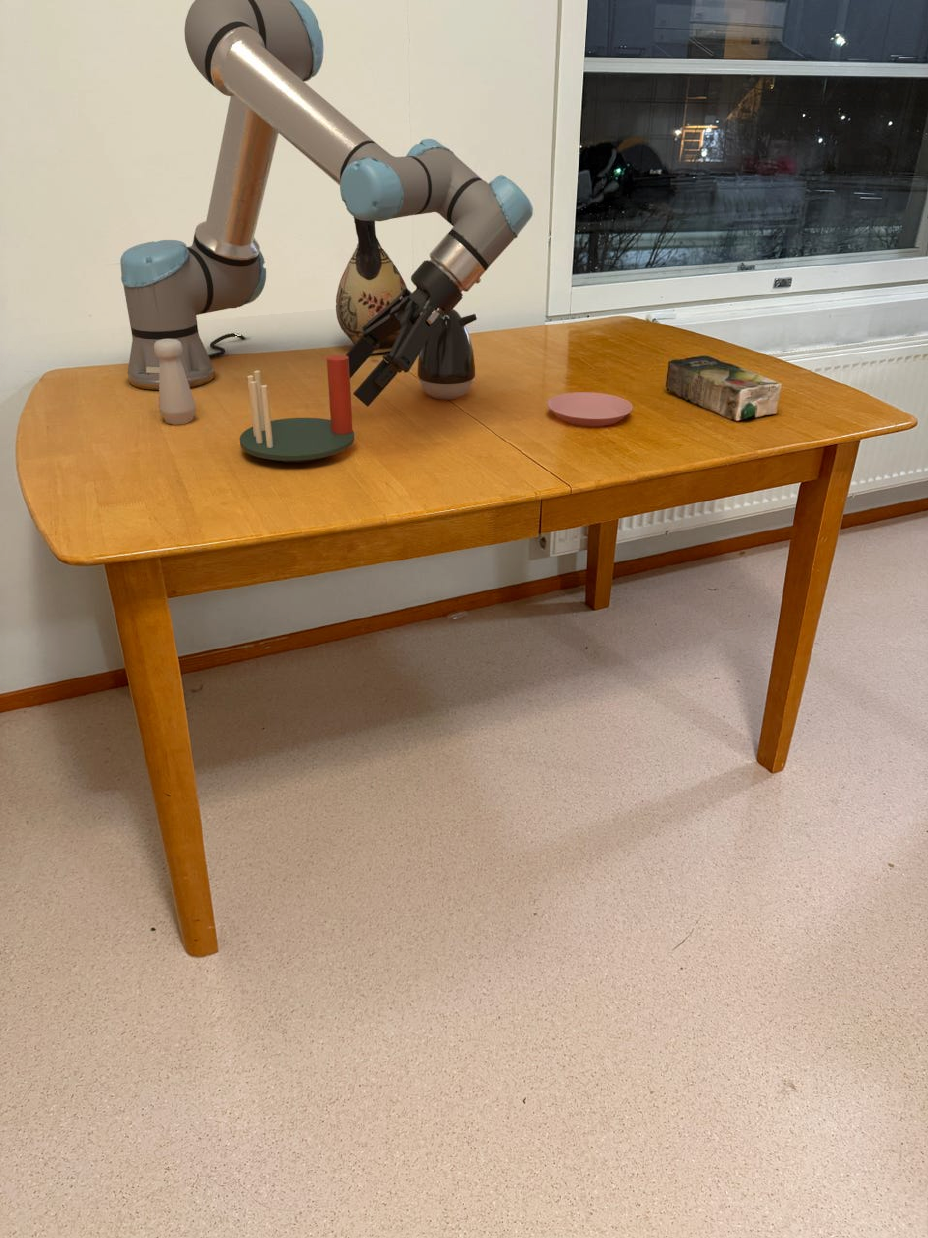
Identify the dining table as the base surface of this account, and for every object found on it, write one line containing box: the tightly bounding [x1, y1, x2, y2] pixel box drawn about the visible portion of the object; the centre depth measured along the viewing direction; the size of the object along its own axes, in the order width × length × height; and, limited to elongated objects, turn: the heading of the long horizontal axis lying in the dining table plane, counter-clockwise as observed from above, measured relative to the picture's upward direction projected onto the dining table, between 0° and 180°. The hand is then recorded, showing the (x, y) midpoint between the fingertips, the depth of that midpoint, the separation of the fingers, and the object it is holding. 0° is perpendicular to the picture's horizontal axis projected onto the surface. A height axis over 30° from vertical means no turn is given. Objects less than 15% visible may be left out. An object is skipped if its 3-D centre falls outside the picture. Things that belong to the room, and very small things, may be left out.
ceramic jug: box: [335, 216, 408, 355], centre depth 183 cm, size 17×15×30 cm
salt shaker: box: [154, 339, 197, 426], centre depth 147 cm, size 6×6×13 cm
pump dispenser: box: [416, 308, 478, 401], centre depth 160 cm, size 10×10×15 cm
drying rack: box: [239, 354, 355, 462], centre depth 135 cm, size 17×17×13 cm
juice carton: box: [665, 354, 783, 422], centre depth 160 cm, size 20×10×6 cm, turn 29°
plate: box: [546, 391, 634, 427], centre depth 154 cm, size 14×14×2 cm
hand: (350, 387), depth 137 cm, fingers open, 13 cm apart
